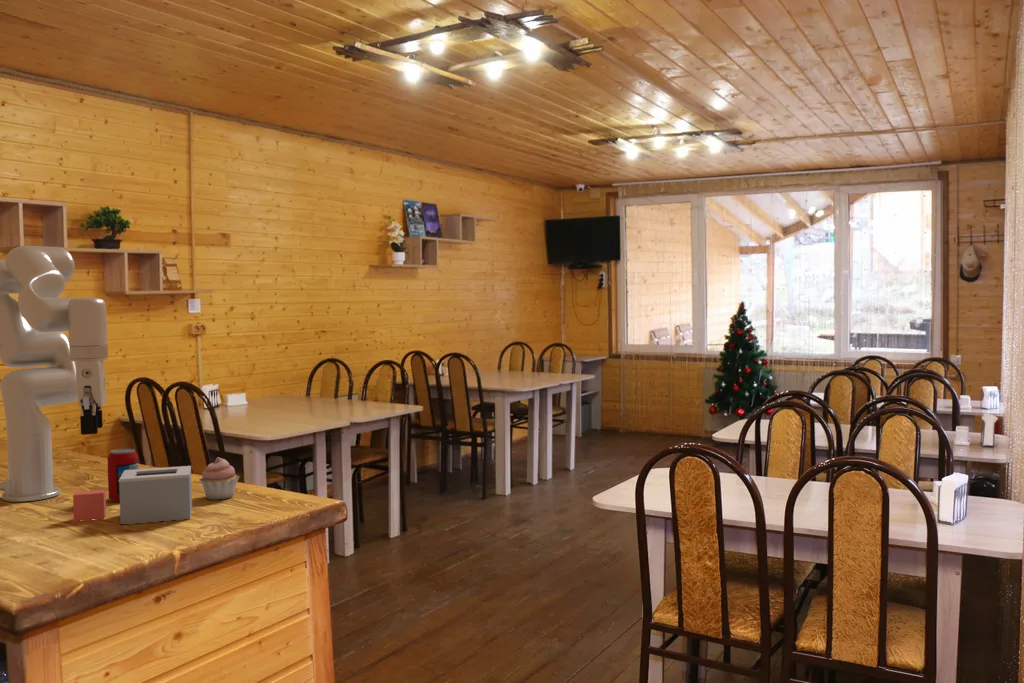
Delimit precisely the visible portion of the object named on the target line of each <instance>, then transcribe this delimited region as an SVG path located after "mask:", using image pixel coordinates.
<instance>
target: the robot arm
mask: <svg viewBox="0 0 1024 683" xmlns="http://www.w3.org/2000/svg"><path fill="white" fill-rule="evenodd" d="M75 264H76V263H75V260H74V258H73V256H72V254H71V253H70V252H69V251H68V250H67V249H65V248H63V247H59V246H45V245H44V246H43V245H42V246H38V245H21V246H17V247H15V248H13V249H11V250H9V252H8V253H7V254H6V256H5V258H3V259H0V361H1V363H2V364H3V365H4V366H6V367H9V368H21V369H15V370H11V371H9V372H7V373H6V374H4V376H2V378H1V380H0V396H1V399H2V403H3V408H4V416H5V426H6V453H7V476H8V477H7V479H6V480H3V481H0V491H3V493H1V500H2V501H5V502H12V503H15V502H16V503H18V502H19V503H20V502H33V501H39V500H45V499H50V498H53V497H56V496H58V495H60V494H61V493H62V492H61V490H62V489H61V488H60V487H59V486H54V469H53V468H54V466H53V441H52V440H53V439H52V438H53V437H52V434H53V433H52V423H51V422H50V420H49V418H48V417H47V415H46V414H45V413H44V412H42V410H41V409H40V408H41V407H45V406H47V407H48V406H56V405H65V404H70V403H74V402H75V401H77V403H78V404H77V405H78V406H80V417H79V419H80V420H79V421H80V423H79V424H80V434H81V435H83V436H85V435H87V436H88V435H96V434H98V430H99V429H102V428H103V427H104V426H103V425H104V423H103V410H102V406H103V405H105V403H106V402H107V387H106V385H107V384H106V372H105V371H106V370H105V362H104V361H108V360H109V347H108V345H109V344H108V342H109V341H108V324H107V323H108V322H107V321H108V319H107V318H108V317H107V303H106V302H105V300H104V299H102V298H99V297H59V296H61V294H62V293H63V291H64V289H65V287H66V283H68V281H70V280H71V278H72V277H73V275H74V274H75V273H74V272H75V267H76V266H75ZM10 294H18V298H17V300H16V299H15V298H13V297H12V296H11V295H10ZM64 332H68V336H67V335H66V334H65V333H64ZM34 367H35V368H34Z"/></svg>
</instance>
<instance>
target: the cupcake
mask: <svg viewBox="0 0 1024 683" xmlns="http://www.w3.org/2000/svg"><path fill="white" fill-rule="evenodd" d="M235 470H236V469H235V468H234V466H232V465H230V463H229V462H228V460H226V459H225V458H221V457H219V456H218V457H216V459H215V461H214V462H211V463H209V464H208V465H207V466H206V468H205V469H204V470H203V471H202V474H201V478H199V479H198V481H199V482H200V483H201V485H202V488H203V490H204V493H205V494H204V495H205V497H206V499H208V500H210V499H211V501H220V500H219V499H223V500H227V498H228V499H230V497H231V498H233V497H232V496H234V495H235V490H236V487H237V483H238V481H239V479H240V476H239V475H237V474H236V471H235Z"/></svg>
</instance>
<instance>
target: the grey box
mask: <svg viewBox="0 0 1024 683" xmlns="http://www.w3.org/2000/svg"><path fill="white" fill-rule="evenodd" d="M119 490H120V502H119V517H120V518H119V520H120V521H119V522H120V525H121V524H130V525H134V524H133V523H141V524H145V523H144V522H153V523H160V522H159V521H164V522H172V521H171V520H176V521H184V519H187V520H191V518H190V517H192V512H191V511H193V495H192V494H193V491H192V490H193V488H192V465H187V466H186V465H181V466H170V467H166V466H165V467H153V468H138V469H135V470H124V472H123V474H122V476H121V477H120V479H119Z"/></svg>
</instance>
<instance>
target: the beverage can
mask: <svg viewBox="0 0 1024 683" xmlns="http://www.w3.org/2000/svg"><path fill="white" fill-rule="evenodd" d="M135 469H139V456H138V454H137V451H136V450H135V448H131V447H130V448H128V447H127V448H126V447H125V448H116V449H112V450H111V451H110V453H109V455H108V457H107V486H108V487H107V488H108V489H107V490H108V499H110V500H112V501H113V500H114V501H113V502H117V501H120V490H119V479H120V477H121V476H122V474H123V472H124V470H135Z"/></svg>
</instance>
